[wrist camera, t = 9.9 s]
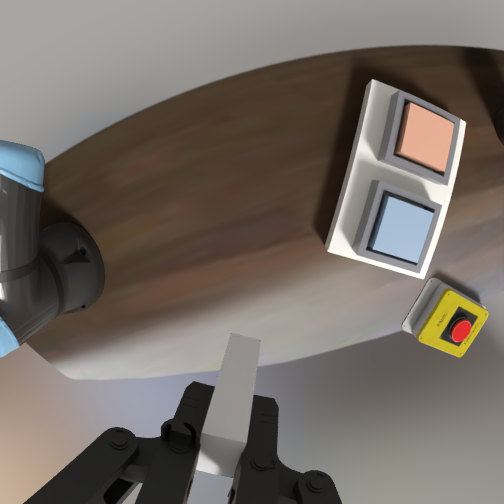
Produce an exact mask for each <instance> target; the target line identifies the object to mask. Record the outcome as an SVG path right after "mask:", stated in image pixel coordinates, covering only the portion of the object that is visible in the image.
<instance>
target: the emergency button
mask: <svg viewBox="0 0 504 504" xmlns="http://www.w3.org/2000/svg"><path fill="white" fill-rule="evenodd" d="M487 317H488V311H487V310H486V307H485V306H484V305H483V304H481V303H479V302H477V301H475V300H474V299H472V298H470V297H468V296H467V295H465V294H463V293H462V292H460V291H458V290H456V289H455V288H453V287H451V286H449V285H448V284H446V283H444V282H442V281H440V280H439V279H437V278H430V279H429V280H428V281H427V283H426V285H425V287H424V289H423V290H422V292H421V294H420V296H419V297H418V299H417V301H416V302H415V304H414V306H413V307H412V309H411V311H410V312H409V314H408V316H407V317H406V319H405V320H404V322H403V324H402V329H403V330H404V331H406V332H409V333H411V334H413V335H415V336H416V338H417V339H418V340H419V341H420V342H422V343H424V344H427V345H430V346H432V347H434V348H437V349H439V350H442V351H444V352H447V353H449V354H452V355H455V356H457V357H461V356H462V355H463V354H464V353H465V352H466V350H467V349H468V347H469V346H470V344H471V343H472V341H473V340H474V338H475V337H476V335H477V334H478V332H479V331H480V329H481V327H482V326H483V324H484V322H485V320H486V319H487Z"/></svg>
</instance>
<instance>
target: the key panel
mask: <svg viewBox="0 0 504 504" xmlns="http://www.w3.org/2000/svg"><path fill="white" fill-rule="evenodd" d="M409 103H413V104H415V105H417V106H420V107H422V108H424V109H426V110H428V111H430V112H432V113H434V114H436V115H438V116H440V117H442V118H444V119H446V120H448V121H450V122H452V123H454V128H453V134H452V140H451V145H450V150H449V155H448V160H447V164H446V169H445V172H444V171H434V170H432V169H430V168H427V167H425V166H423V165H421V164H418V163H416V162H413V161H411V160H409V159H406V158H404V157H401V156H399V155H396V154H393V153H394V149H395V144H396V140H397V136H398V131H399V126H400V121H401V116H402V111H403V106H405V105H407V104H409ZM465 126H466V122H464V121H463V120H461V119H459V118H457V117H456V116H454V115H452V114H450V113H448V112H446V111H444V110H442V109H440V108H438V107H436V106H434V105H432V104H430V103H428V102H426V101H424V100H422V99H420V98H418V97H415V96H413V95H411V94H409V93H406V92H404V91H402V90H399V89H396V88H394V87H391V86H389V85H386V84H384V83H381V82H379V81H376V80H373V79H372V80H371V81H370V82H369V83H368V84H367V85H366V90H365V95H364V99H363V104H362V109H361V113H360V117H359V122H358V126H357V130H356V135H355V139H354V143H353V147H352V151H351V155H350V159H349V163H348V166H347V170H346V174H345V178H344V181H343V185H342V189H341V192H340V196H339V199H338V203H337V206H336V210H335V213H334V217H333V220H332V224H331V227H330V230H329V234H328V237H327V240H326V243H325V247H326V249H327V251H328V252H331V253H334V254H338V255H341V256H345V257H348V258H352V259H356V260H359V261H363V262H366V263H369V264H373V265H376V266H380V267H383V268H387V269H390V270H394V271H397V272H400V273H404V274H407V275H410V276H414V277H417V278H421V279H424V277H425V274H426V272H427V269H428V266H429V264H430V261H431V258H432V256H433V253H434V250H435V247H436V244H437V241H438V238H439V235H440V232H441V229H442V226H443V222H444V219H445V216H446V212H447V209H448V205H449V202H450V198H451V194H452V190H453V186H454V182H455V178H456V173H457V169H458V164H459V160H460V155H461V149H462V144H463V138H464V132H465ZM382 195H386V196H390V197H392V198H395V199H398V200H401V201H403V202H406V203H409V204H411V205H414V206H417V207H419V208H422V209H424V210H427V211H429V212H432V213H434V215H433V218H432V221H431V224H430V228H429V231H428V234H427V237H426V240H425V243H424V246H423V249H422V252H421V254H420V257H419V260H418V263H416V262H412V261H409V260H406V259H403V258H400V257H397V256H393V255H390V254H387V253H384V252H380V251H377V250H374V249H372V248H371V247H370V246H369V245H368V241H369V238H370V235H371V232H372V229H373V226H374V222H375V219H376V216H377V213H378V209H379V206H380V202H381V199H382Z"/></svg>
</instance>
